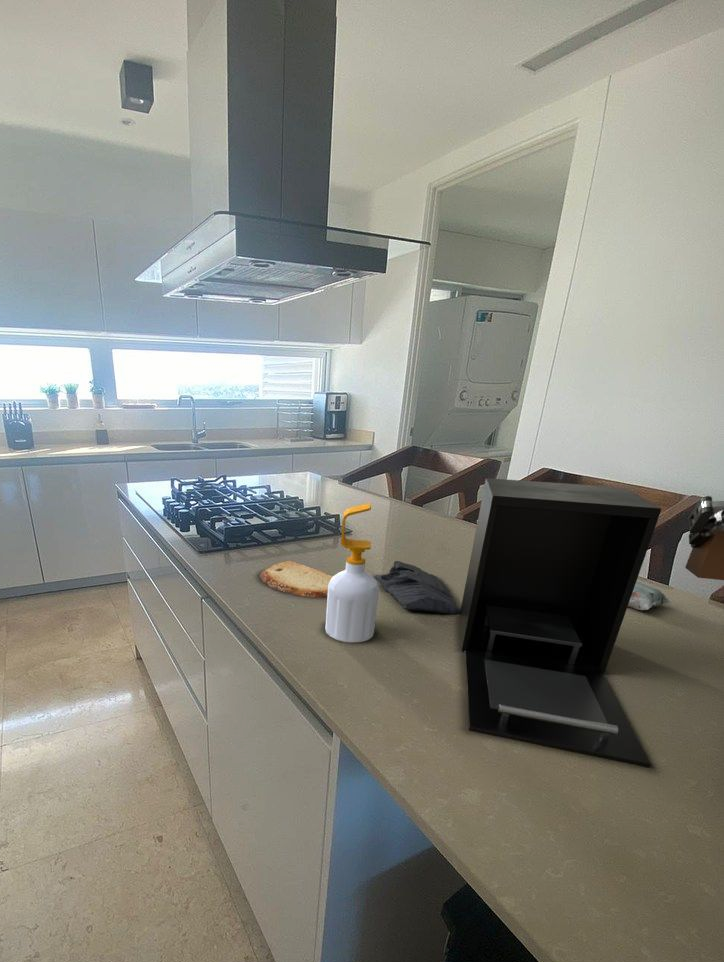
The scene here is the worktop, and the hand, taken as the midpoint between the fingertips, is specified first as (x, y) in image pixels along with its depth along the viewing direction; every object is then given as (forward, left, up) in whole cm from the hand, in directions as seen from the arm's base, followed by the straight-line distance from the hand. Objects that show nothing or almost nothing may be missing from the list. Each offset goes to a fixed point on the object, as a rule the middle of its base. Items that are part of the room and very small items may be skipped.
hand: (717, 544), depth 73 cm
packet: (0, +2, -4) cm, 5 cm away
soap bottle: (+53, +6, -22) cm, 58 cm away
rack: (+22, 0, -21) cm, 31 cm away
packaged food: (-2, -28, -22) cm, 36 cm away
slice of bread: (+68, -14, -22) cm, 73 cm away
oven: (+22, +10, -22) cm, 33 cm away
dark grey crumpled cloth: (+42, -17, -22) cm, 51 cm away
